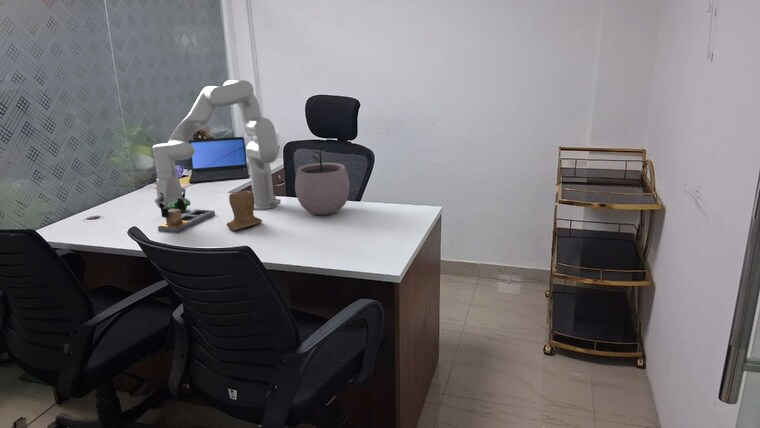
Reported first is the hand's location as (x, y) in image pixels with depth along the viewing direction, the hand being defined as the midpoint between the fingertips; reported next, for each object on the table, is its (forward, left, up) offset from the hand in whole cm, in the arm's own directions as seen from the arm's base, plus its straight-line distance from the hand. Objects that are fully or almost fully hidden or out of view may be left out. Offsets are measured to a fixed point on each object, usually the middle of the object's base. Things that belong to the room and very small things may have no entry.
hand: (173, 213), depth 227 cm
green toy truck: (+15, -19, -7) cm, 25 cm away
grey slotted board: (0, -8, -7) cm, 10 cm away
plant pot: (-53, -35, -7) cm, 64 cm away
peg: (0, 0, -7) cm, 7 cm away
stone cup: (-27, -10, -7) cm, 29 cm away
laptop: (+44, -91, -7) cm, 101 cm away
